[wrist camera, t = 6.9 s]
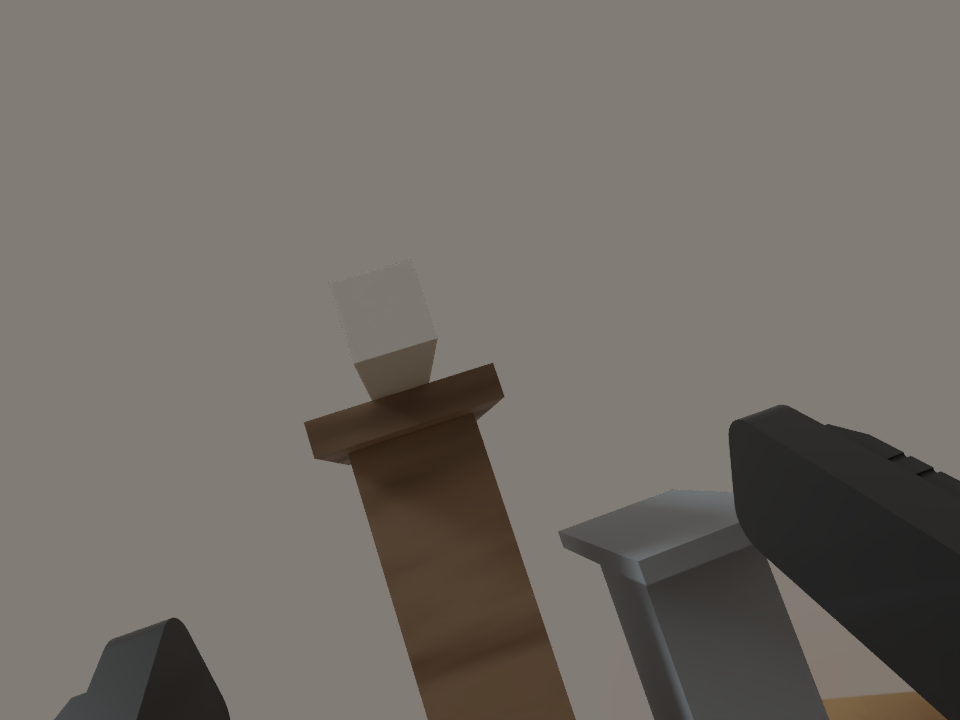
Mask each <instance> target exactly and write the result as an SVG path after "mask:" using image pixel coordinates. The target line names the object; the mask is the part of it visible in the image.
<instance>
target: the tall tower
mask: <svg viewBox="0 0 960 720" xmlns="http://www.w3.org/2000/svg"><path fill="white" fill-rule="evenodd" d="M502 398H504V394H503V391H502V388H501V385H500V382H499V379H498V376H497V373H496V371H495V368H494V365H493V363H491V364H488V365H484V366H481V367H478V368H475V369H472V370H469V371H465V372H462V373H459V374H456V375H453V376H450V377H446V378H443V379H440V380H437V381H434V382H431V383H427V384H424V385H421V386H418V387H415V388H411V389H408V390H405V391H402V392H399V393H396V394H392V395H389V396H386V397H383V398H380V399H377V400H373V401H370V402H367V403H364V404H361V405H358V406H354V407H351V408H348V409H345V410H342V411H339V412H335V413H333V414H329V415H326V416H323V417H319V418H316V419H313V420H310V421H307V422H305V423H304V424H305V427H306V431H307V434H308V438H309V441H310V444H311V448H312V451H313V455H314V458H315V459H320V460H325V461H330V462H336V463H341V464H346V465H350V464H351V465H352V468H353V472H354V475H355V478H356V482H357V485H358V488H359V492H360V495H361V498H362V502H363V505H364V508H365V512H366V515H367V518H368V522H369V525H370V528H371V532H372V535H373V538H374V542H375V545H376V548H377V552H378V555H379V558H380V562H381V565H382V568H383V572H384V575H385V578H386V581H387V585H388V588H389V592H390V595H391V598H392V602H393V605H394V608H395V612H396V615H397V618H398V622H399V625H400V628H401V632H402V635H403V638H404V641H405V645H406V648H407V652H408V655H409V658H410V662H411V665H412V668H413V671H414V675H415V678H416V682H417V685H418V688H419V692H420V695H421V698H422V702H423V704H424V708H425V711H426V715H427V718H428V720H576V719H575V716H574V713H573V710H572V707H571V704H570V701H569V699H568V695H567V692H566V689H565V686H564V683H563V680H562V677H561V674H560V671H559V669H558V666H557V662H556V659H555V657H554V653H553V650H552V647H551V644H550V641H549V638H548V635H547V632H546V629H545V626H544V623H543V620H542V617H541V614H540V612H539V608H538V605H537V602H536V599H535V596H534V593H533V590H532V587H531V584H530V581H529V578H528V575H527V572H526V569H525V566H524V563H523V560H522V557H521V554H520V551H519V548H518V545H517V542H516V539H515V536H514V533H513V530H512V527H511V524H510V521H509V518H508V515H507V512H506V509H505V506H504V503H503V500H502V497H501V494H500V491H499V488H498V485H497V482H496V479H495V476H494V473H493V470H492V467H491V464H490V461H489V458H488V455H487V452H486V449H485V446H484V443H483V440H482V437H481V434H480V431H479V428H478V425H477V422H476V421H477V420H478V419H479V418H480V417H481V416H482V415H483V414H485V413H486V412H487V411H488V410H490V409H491V408H492V407H493V406H494V405H495V404H497V403H498V402H499V401H500V400H501V399H502Z"/></svg>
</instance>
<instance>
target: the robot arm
mask: <svg viewBox="0 0 960 720" xmlns="http://www.w3.org/2000/svg"><path fill="white" fill-rule="evenodd" d="M729 447H730V458H731V470H732V481H733V493H734V505H735V511H736V515H737V518H738V521H739V523H740V525H741V528H742V529H743V531H744V533H745V535H746V536H747V538H748V539H749V541H750V542H751V543H752V544H753V546H754V547H755V548H756V549H757V550H758V551H760V552H761V553H762V554H763V555H764V556H765V557H766V558H767V559H769V560H770V561H771V562H772V563H773V564H774V565H775V566H776V567H777V568H779V569H780V570H781V571H782V572H783V573H784V574H785V575H787V576H788V577H789V578H790V579H791V580H792V581H793V582H794V583H795V584H797V585H798V586H799V587H800V588H801V589H802V590H803V591H804V592H805V593H807V594H808V595H809V596H810V597H811V598H812V599H813V600H815V601H816V602H817V603H818V604H819V605H820V606H821V607H822V608H823V609H825V610H826V611H827V612H828V613H829V614H830V615H831V616H832V617H834V618H835V619H836V620H837V621H838V622H839V623H840V624H841V625H842V626H844V627H845V628H846V629H847V630H848V631H849V632H850V633H851V634H852V635H854V636H855V637H856V638H857V639H858V640H859V641H860V642H862V643H863V644H864V645H865V646H866V647H867V648H868V649H869V650H870V651H871V652H873V653H874V654H875V655H876V656H877V657H878V658H879V659H880V660H882V661H883V662H884V663H885V664H886V665H887V666H888V667H889V668H891V669H892V670H893V671H894V672H895V673H896V674H897V675H898V676H899V677H901V678H902V679H903V680H904V681H905V682H906V683H907V684H909V685H910V686H911V687H912V688H913V689H914V690H915V691H916V692H917V693H918V694H920V695H921V696H922V697H923V698H924V699H925V700H926V701H927V702H929V703H930V704H931V705H932V706H933V707H934V708H935V709H936V710H938V711H939V712H940V713H941V714H942V715H943V716H944V717H945V718H946V719H948V720H960V481H959V480H957V479H955V478H953V477H951V476H949V475H947V474H945V473H943V472H938V473H936V472H935V471H934V469H933V467H931V466H929V465H927V464H926V463H924V462H921V461H920V460H918V459H916V458H914V457H912V456H910V457H906V456H905V455H904V453H903V452H902V451H900V450H898V449H896V448H894V447H892V446H890V445H888V444H886V443H884V442H883V441H880V440H879V439H877V438H875V437H873V436H870V435H869V434H864V433H861V432H857V431H852V430H849V429H845V428H841V427H837V426H833V425H829V424H827V425H823V424H821V423H819V422H817V421H815V420H814V419H812V418H810V417H808V416H806V415H804V414H802V413H800V412H799V411H797V410H795V409H793V408H791V407H789V406H786V405H778V406H775V407H772V408H769V409H766V410H764V411H761V412H758V413H756V414H752V415H749V416H747V417H744V418H741V419H738V420H735V421H734V422H732V424H731V426H730V428H729ZM54 720H230V716H229V712H228V709H227V706H226V703H225V701H224V699H223V697H222V695H221V693H220V691H219V689H218V687H217V685H216V683H215V681H214V680H213V678H212V676H211V674H210V672H209V670H208V668H207V666H206V664H205V662H204V660H203V659H202V657H201V655H200V653H199V651H198V649H197V647H196V645H195V644H194V642H193V640H192V638H191V636H190V634H189V632H188V630H187V629H186V627H185V625H184V624H183V623H182V622H181V621H180V620H179V619H177V618H171V619H168V620H165V621H162V622H160V623H157V624H154V625H151V626H148V627H145V628H143V629H140V630H137V631H134V632H132V633H128V634H126V635H123V636H120V637H117V638H114V639H112V640H111V641H109V642H108V644H107V645H106V647H105V649H104V651H103V653H102V656H101V658H100V660H99V663H98V665H97V668H96V671H95V673H94V675H93V678H92V680H91V683H90V685H89V688H88V690H87V693H84V694H81V695H79V696H76V697H73V698H71V699H70V700H69V702H68V703H67V704H66V706H65V707H64V708H63V709H62V711H61V712H60V713H59V714H58V716H57V717H56V718H55V719H54Z"/></svg>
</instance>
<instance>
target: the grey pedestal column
mask: <svg viewBox="0 0 960 720" xmlns="http://www.w3.org/2000/svg"><path fill="white" fill-rule="evenodd" d="M559 535H560V538H561V541H562V544H563V547H564V548H566V549H568V550H570V551H573V552H575V553H577V554H579V555H581V556H583V557H585V558H588V559H590V560H592V561H594V562H596V563H598V564H600V565H601V568H602V571H603V574H604V577H605V580H606V583H607V585H608V588H609V591H610V594H611V597H612V600H613V602H614V605H615V608H616V611H617V614H618V617H619V620H620V623H621V625H622V628H623V631H624V634H625V637H626V640H627V643H628V645H629V648H630V651H631V654H632V657H633V660H634V663H635V665H636V668H637V671H638V674H639V677H640V680H641V682H642V685H643V688H644V691H645V694H646V697H647V699H648V703H649V705H650V708H651V711H652V714H653V716H654V719H655V720H829V718H828V715H827V713H826V710H825V707H824V705H823V702H822V700H821V697H820V695H819V692H818V689H817V687H816V684H815V682H814V679H813V677H812V674H811V672H810V669H809V666H808V664H807V661H806V659H805V656H804V653H803V651H802V649H801V646H800V643H799V641H798V638H797V635H796V633H795V630H794V628H793V625H792V623H791V620H790V617H789V615H788V612H787V610H786V607H785V605H784V602H783V599H782V597H781V594H780V592H779V589H778V586H777V584H776V581H775V579H774V576H773V574H772V571H771V568H770V566H769V563H768V561H767V558H766V557H765V556H764V555H763V554H762V553H761V552H760V551H758V550H757V549H756V548H755V547H754V546H753V544H752V543H751V542H750V541H749V539H748V538H747V536H746V535H745V533H744V531H743V529H742V528H741V525H740V523H739V521H738V518H737V515H736V511H735V505H734V493H733V492H713V491H693V490H671V491H667V492H665V493H662V494H659V495H657V496H654V497H651V498H648V499H646V500H643V501H640V502H637V503H635V504H632V505H629V506H627V507H624V508H621V509H619V510H616V511H613V512H610V513H608V514H605V515H602V516H600V517H597V518H594V519H591V520H588V521H586V522H583V523H581V524H578V525H575V526H572V527H569V528H567V529H564V530H561V531H559Z"/></svg>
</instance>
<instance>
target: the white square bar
mask: <svg viewBox="0 0 960 720" xmlns="http://www.w3.org/2000/svg"><path fill="white" fill-rule="evenodd" d="M329 286H330V289H331V293H332V296H333V299H334V302H335V305H336V309H337V312H338V315H339V318H340V322H341V325H342V328H343V331H344V335H345V338H346V341H347V344H348V348H349V351H350V354H351V357H352V360H353V364H354V366H355V368H356V369H357V372H358V374H359V375H360V378H361V379H362V381H363V383H364V385H365V387H366V389H367V391H368V393H369V395H370V397H371V399H372V401H373V400H377V399H380V398H383V397H386V396H389V395H392V394H396V393H399V392H402V391H405V390H408V389H411V388H415V387H418V386H421V385H424V384H427V383H429V380H430V375H431V369H432V364H433V359H434V354H435V349H436V343H437V335H436V332H435V329H434V326H433V323H432V320H431V317H430V314H429V311H428V308H427V305H426V302H425V299H424V296H423V293H422V290H421V287H420V283H419V280H418V278H417V274H416V272H415V268H414V265H413V262H412V260H411V259H410V260H407V261H404V262H400V263H396V264H393V265H389V266H386V267H382V268H378V269H375V270H371V271H368V272H364V273H361V274H357V275H354V276H350V277H346V278H343V279H340V280H336V281H332V282H329Z"/></svg>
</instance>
